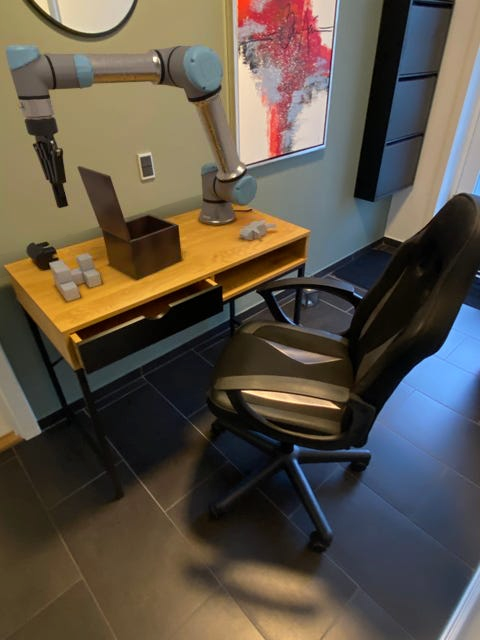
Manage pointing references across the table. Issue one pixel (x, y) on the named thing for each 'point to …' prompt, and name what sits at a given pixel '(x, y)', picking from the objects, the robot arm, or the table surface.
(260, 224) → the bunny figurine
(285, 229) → the table surface
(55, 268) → the grey cube cluster
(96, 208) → the chest lid
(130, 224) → the chest
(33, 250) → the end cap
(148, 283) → the table surface
